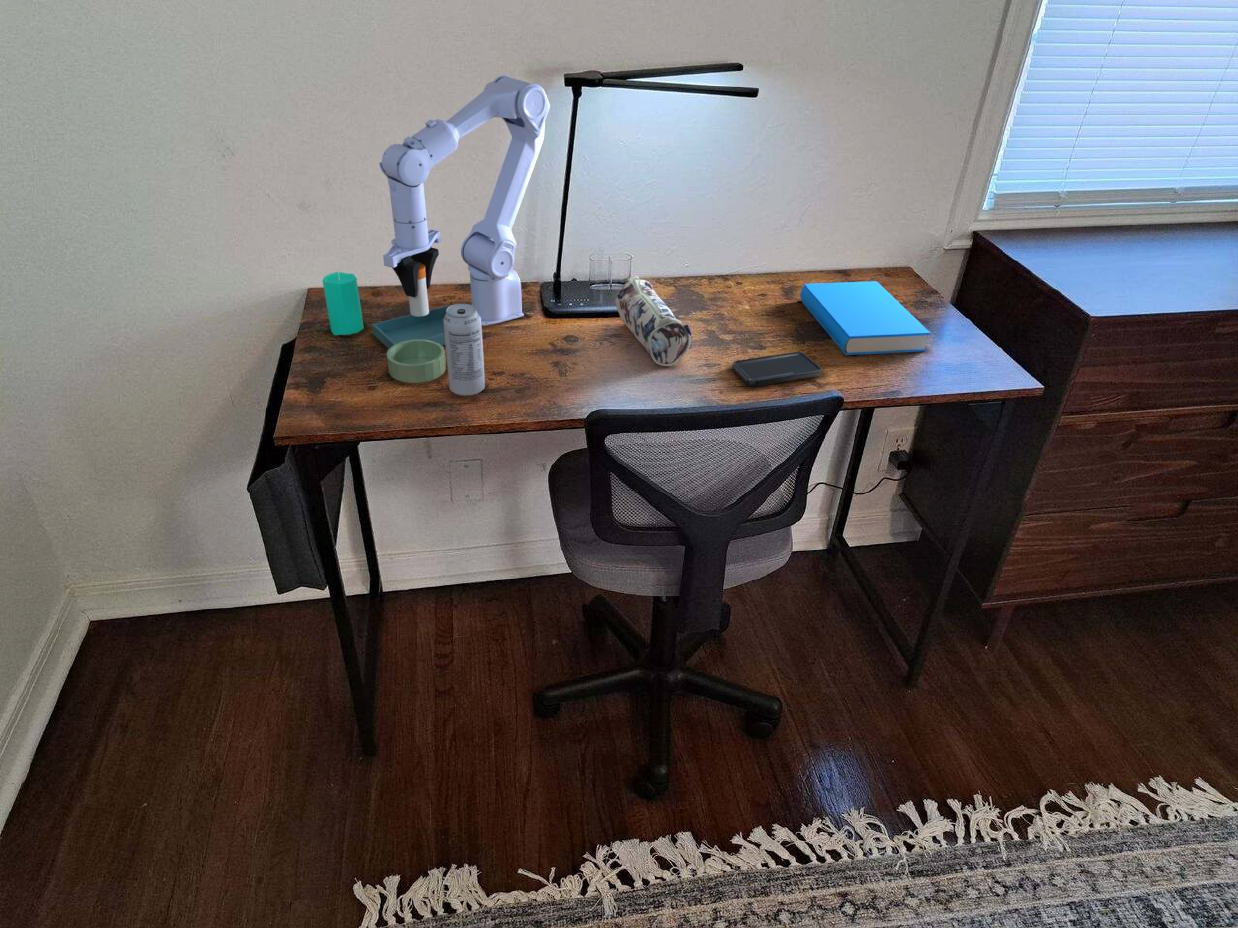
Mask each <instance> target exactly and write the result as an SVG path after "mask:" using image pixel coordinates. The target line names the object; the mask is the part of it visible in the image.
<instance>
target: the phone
mask: <svg viewBox="0 0 1238 928" xmlns="http://www.w3.org/2000/svg"><path fill="white" fill-rule="evenodd" d="M822 368H823V367H821V366H820V365H819V364H818V363H816V362H815V361H814V360H813V359H812V358H811V357H810V356H809V355H808V354H806V353H805V352H802V351H793V352H787V353H780V354H773V355H766V356H760V357H751V358H746V359H740V360H739V359H737V360H734V361H733V362H732V366H731V370H732V371H733V372H734V373H735V374H736V375H737V376H738V377H739V378H740V379H741V380H742V381H743V382H744V383H745V385H747V386H748V387H760V386H765V385H766V386H767V385H772V384H773V385H774V384H779V383H785V382H792V381H797V380H803V379H810V378H818V377H820V376H821V374H822V370H823V369H822Z"/></svg>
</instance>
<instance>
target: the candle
mask: <svg viewBox="0 0 1238 928" xmlns="http://www.w3.org/2000/svg"><path fill="white" fill-rule="evenodd" d="M322 286H323V291H324V296H325V298H324V299H325V303H326V310H327V315H328V320H329V321H328V322H329V326H330V331H331V333H332V335H334V336H339V335H340V336H341V335H345V336H346V335H353V334H357V333H359V332H360V331H362V330H364V329H365V326H364V320H363V312H362V306H361V299H360V293H359V285H358V278H357V276H356V275H355V274H354V273H348V272H347V273H346V272H342V271H339V269H337V271H336V272H335V271H334V272H333V273H328V274H327V275H325V276H324V277H323V278H322Z"/></svg>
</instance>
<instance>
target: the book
mask: <svg viewBox="0 0 1238 928" xmlns="http://www.w3.org/2000/svg"><path fill="white" fill-rule="evenodd" d="M800 299H801V300H800V301H801V302H802V304H803V305H804V306H805V308H806V309H807V310H808V312H809V313H810V314H811V315H812V316H813V317H814V319H815V320H816V321H817V322H818V323H819V324H820V326H821V327H822V328H823V329H824V331H825V332H826V333H827V334H828V336H830V338H831V339H832V341H833V342H834V343H835V344H836V345H837V347H838V348H839V349H840V350H841V351H842V352H843V354H844V355H845V356H853V355H854V356H855V355H856V356H857V355H873V354H874V355H875V354H877V355H878V354H895V353H896V354H897V353H910V352H911V353H914V352H926V351H927V350H926V344H927V341H928V338H929V336H931V331H930V330H928V329H927V328H926V327H925V326H924V325H923V324H922V323H921V322H920V320H918V319H917V318H916V317H915V316H913V314H911V312H910V311H909V310H908V309H906V307H904V306H903V304H901V303H900V302H899V301H898V300H897V299H896V298H895V297H894V296H893V295H892V294H891V293H890V292H889V291H888V290H887V289H886V288H885V287H884V286H883V285H881V283H879V282H878V281H876V280H874V281H850V282H849V281H848V282H847V281H846V282H818V283H815V282H814V283H804V284H803V286H802V288H801V289H800Z"/></svg>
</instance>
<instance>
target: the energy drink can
mask: <svg viewBox="0 0 1238 928" xmlns="http://www.w3.org/2000/svg"><path fill="white" fill-rule="evenodd" d="M443 323H444V334H445V344H444V345H445V357H446V368H447V378H448V387H449V390H450V391H451V393H453V394H455V395H457V396H460V397H473V396H477V395H479V394H480V393H481V392H482V391H484V390H485V387H486V376H485V362H484V361H485V360H484V346H483V345H484V343H483V342H484V341H483V330H482V329H483V328H482V325H481V317H480V316H479V314H478V313H477V309H476V307H475V306H473V305H472V304H469V303H455V304H452V305H449V307H448V308H447V309H446V315H445V317H444V319H443Z"/></svg>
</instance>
